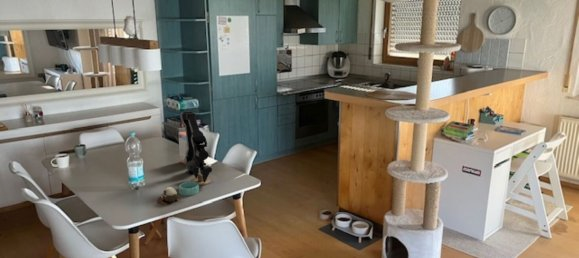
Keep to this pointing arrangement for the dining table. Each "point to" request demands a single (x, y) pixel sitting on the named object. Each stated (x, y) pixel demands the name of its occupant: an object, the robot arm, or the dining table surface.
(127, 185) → the dining table surface
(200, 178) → the lid
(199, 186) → the mat
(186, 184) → the bowl
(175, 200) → the skull
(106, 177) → the dining table surface
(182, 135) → the cracker box
